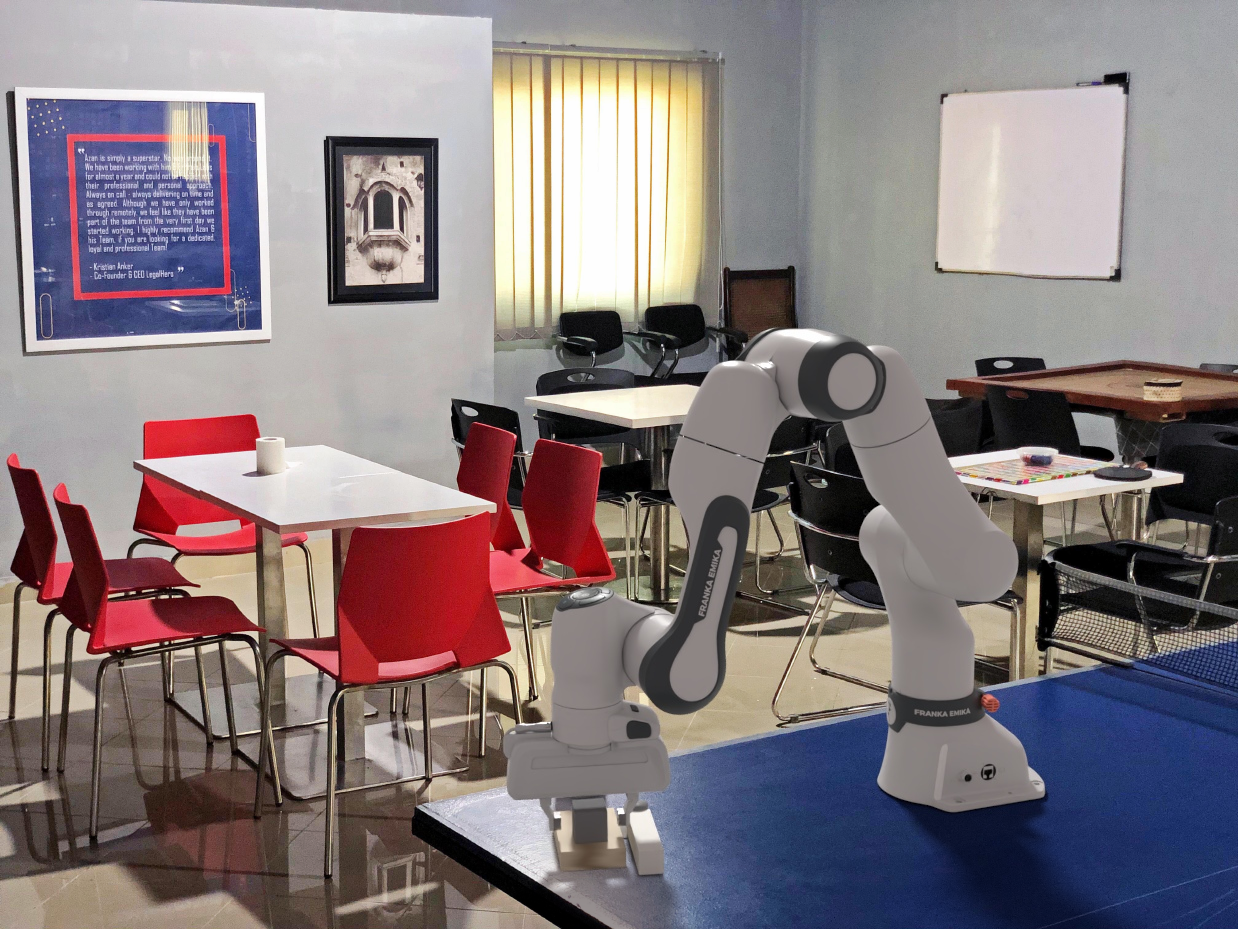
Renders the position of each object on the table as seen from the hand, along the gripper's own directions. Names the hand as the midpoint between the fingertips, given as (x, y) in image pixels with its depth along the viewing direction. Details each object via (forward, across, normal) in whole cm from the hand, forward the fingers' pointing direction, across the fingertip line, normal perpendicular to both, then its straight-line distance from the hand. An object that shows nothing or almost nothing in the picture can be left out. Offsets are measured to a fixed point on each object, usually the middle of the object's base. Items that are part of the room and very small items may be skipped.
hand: (589, 826), depth 170 cm
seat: (+4, +3, +2) cm, 5 cm away
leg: (+3, +7, 0) cm, 8 cm away
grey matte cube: (+1, 0, 0) cm, 1 cm away
